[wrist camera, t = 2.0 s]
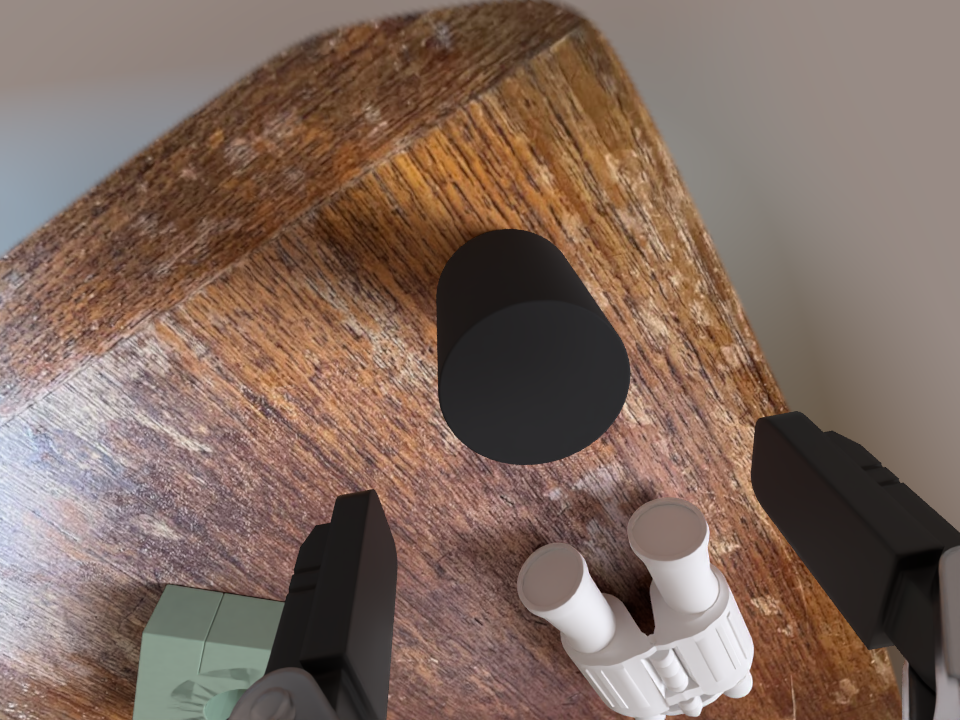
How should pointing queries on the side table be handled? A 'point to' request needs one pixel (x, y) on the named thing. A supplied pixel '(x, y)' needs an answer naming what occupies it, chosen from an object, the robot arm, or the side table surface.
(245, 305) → the side table surface
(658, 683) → the binoculars
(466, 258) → the stopper
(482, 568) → the side table surface
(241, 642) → the green block with hole
